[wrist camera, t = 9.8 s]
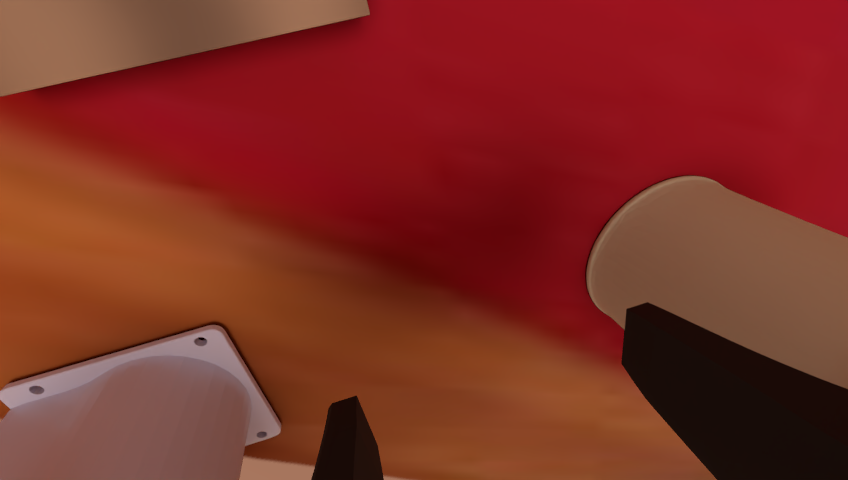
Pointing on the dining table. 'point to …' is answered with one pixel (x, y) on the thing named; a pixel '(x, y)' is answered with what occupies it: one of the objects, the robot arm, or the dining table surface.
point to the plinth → (139, 33)
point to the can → (729, 272)
